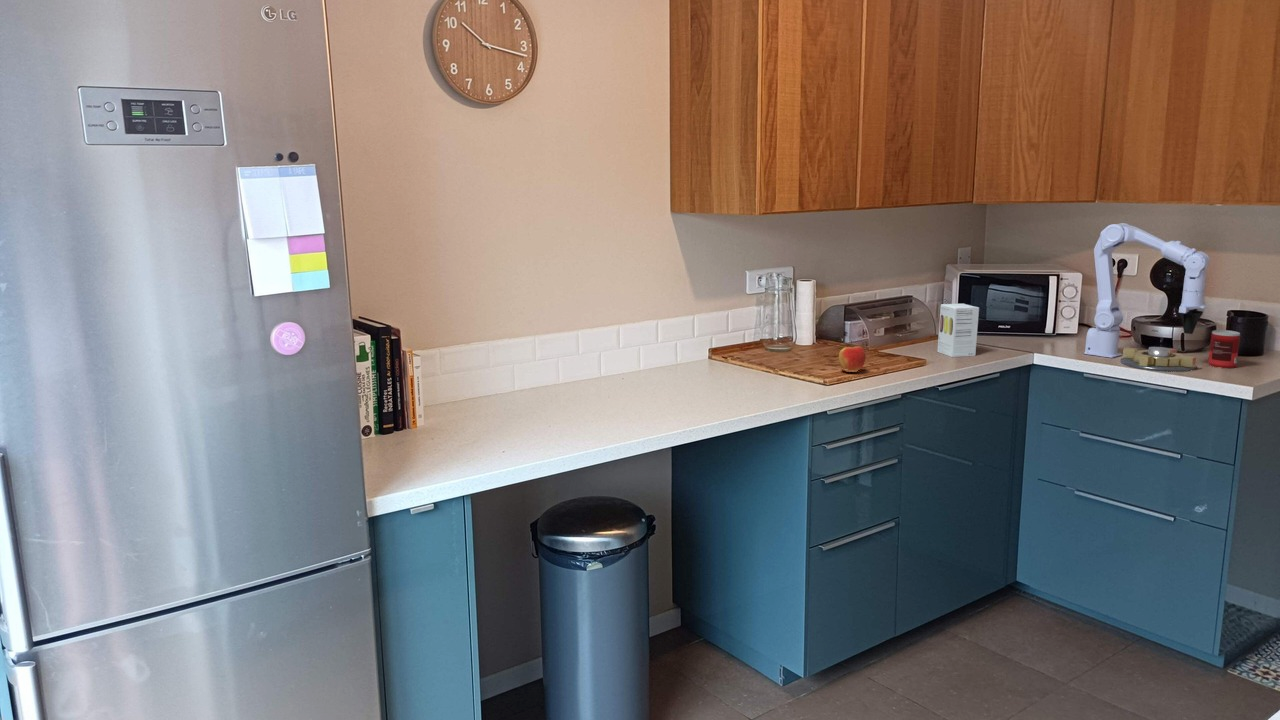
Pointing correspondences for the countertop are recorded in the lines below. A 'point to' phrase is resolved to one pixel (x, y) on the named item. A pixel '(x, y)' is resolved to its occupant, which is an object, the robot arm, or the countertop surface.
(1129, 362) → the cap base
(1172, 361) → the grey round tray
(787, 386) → the countertop surface
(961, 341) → the supplement box
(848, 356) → the apple
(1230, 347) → the canned food
